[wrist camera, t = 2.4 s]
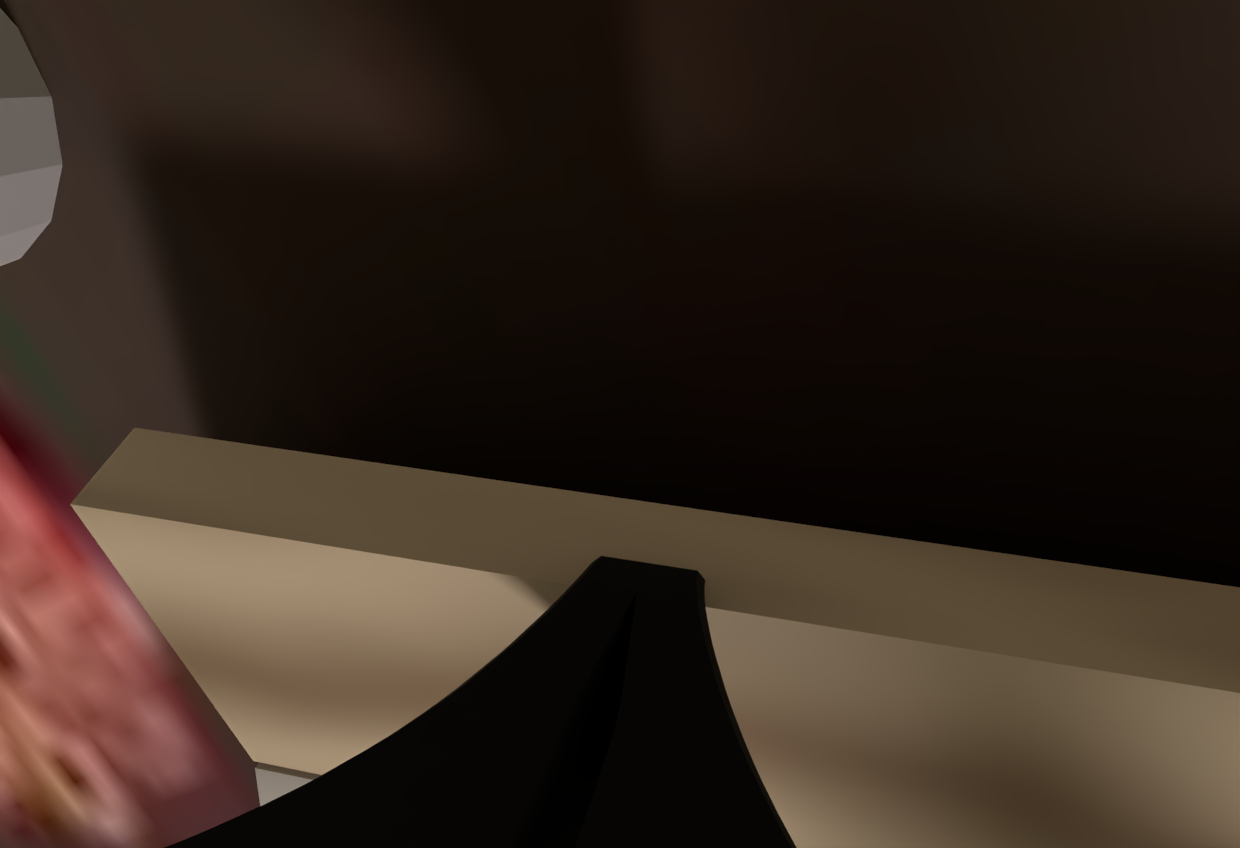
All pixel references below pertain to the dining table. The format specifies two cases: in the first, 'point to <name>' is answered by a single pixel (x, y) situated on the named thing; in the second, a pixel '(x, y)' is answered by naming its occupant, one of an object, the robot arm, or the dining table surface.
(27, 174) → the white cup
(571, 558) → the oak plank
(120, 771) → the dining table surface
